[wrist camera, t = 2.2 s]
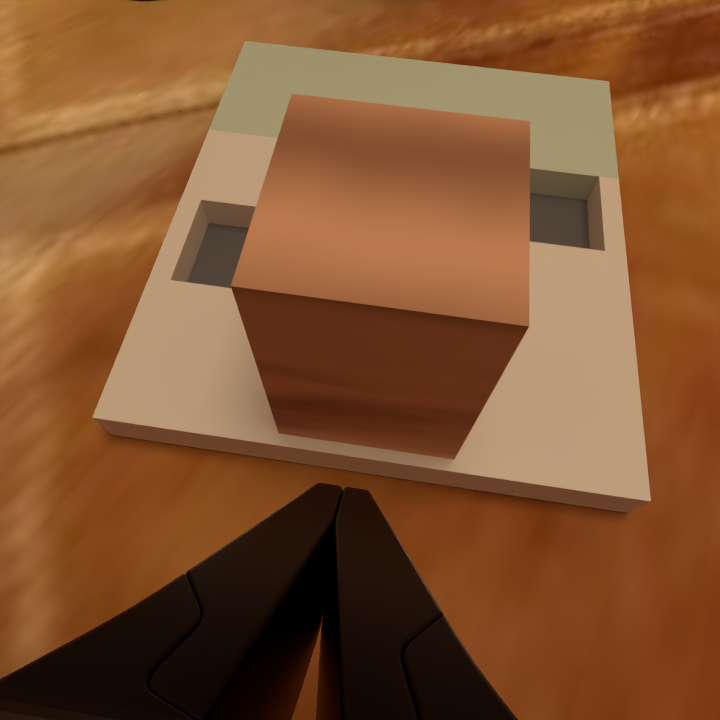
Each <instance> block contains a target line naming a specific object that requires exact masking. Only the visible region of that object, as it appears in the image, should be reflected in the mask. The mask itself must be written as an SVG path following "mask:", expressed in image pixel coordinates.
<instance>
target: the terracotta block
mask: <svg viewBox="0 0 720 720" xmlns="http://www.w3.org/2000/svg"><path fill="white" fill-rule="evenodd" d="M529 272H530V121H524V120H515V119H506V118H498V117H489V116H481V115H472V114H463V113H455V112H446V111H437V110H429V109H420V108H411V107H403V106H394V105H385V104H377V103H368V102H359V101H351V100H342V99H333V98H325V97H316V96H307V95H299V94H291V98H290V101H289V104H288V107H287V110H286V113H285V116H284V120H283V123H282V126H281V129H280V132H279V135H278V139H277V142H276V145H275V148H274V151H273V154H272V157H271V161H270V164H269V167H268V170H267V173H266V176H265V180H264V183H263V186H262V189H261V192H260V195H259V198H258V202H257V205H256V208H255V211H254V214H253V217H252V221H251V224H250V227H249V230H248V233H247V236H246V240H245V243H244V246H243V249H242V252H241V255H240V258H239V262H238V265H237V268H236V271H235V274H234V277H233V281H232V284H231V288H232V292H233V295H234V298H235V301H236V304H237V307H238V310H239V313H240V316H241V319H242V322H243V325H244V328H245V332H246V335H247V338H248V341H249V344H250V347H251V350H252V353H253V356H254V359H255V362H256V365H257V368H258V371H259V375H260V378H261V381H262V384H263V387H264V390H265V393H266V396H267V399H268V402H269V405H270V408H271V411H272V415H273V418H274V421H275V424H276V427H277V430H278V433H279V434H286V435H292V436H299V437H306V438H313V439H319V440H326V441H333V442H339V443H346V444H353V445H360V446H366V447H373V448H380V449H386V450H393V451H400V452H407V453H413V454H420V455H427V456H433V457H440V458H447V459H455V458H456V456H457V454H458V452H459V451H460V449H461V447H462V445H463V443H464V442H465V440H466V438H467V436H468V435H469V433H470V431H471V429H472V427H473V426H474V424H475V422H476V420H477V419H478V417H479V415H480V413H481V411H482V410H483V408H484V406H485V404H486V403H487V401H488V399H489V397H490V395H491V394H492V392H493V390H494V388H495V387H496V385H497V383H498V381H499V379H500V378H501V376H502V374H503V372H504V370H505V369H506V367H507V365H508V363H509V362H510V360H511V358H512V356H513V354H514V353H515V351H516V349H517V347H518V346H519V344H520V342H521V340H522V338H523V337H524V335H525V333H526V331H527V330H528V328H529Z"/></svg>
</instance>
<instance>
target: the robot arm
mask: <svg viewBox="0 0 720 720" xmlns="http://www.w3.org/2000/svg"><path fill="white" fill-rule="evenodd" d="M322 617H323V620H322ZM321 622H322V628H321V640H320V656H319V675H318V693H317V712H316V720H518V719H517V718H516V717H515V716H514V714H513V713H512V712H511V710H510V709H509V708H508V707H507V705H506V704H505V703H504V702H503V700H502V699H501V698H500V696H499V695H498V694H497V692H496V691H495V690H494V688H493V687H492V686H491V684H490V683H489V682H488V680H487V679H486V678H485V676H484V675H483V674H482V672H481V671H480V670H479V668H478V667H477V665H476V664H475V663H474V661H473V660H472V658H471V657H470V655H469V653H468V652H467V650H466V649H465V647H464V646H463V644H462V643H461V641H460V640H459V638H458V637H457V635H456V633H455V632H454V630H453V629H452V627H451V625H450V624H449V622H448V620H447V619H446V617H444V615H443V612H442V611H441V609H440V607H439V606H438V604H437V602H436V601H435V599H434V598H433V596H432V594H431V593H430V591H429V589H428V588H427V586H426V584H425V583H424V581H423V579H422V578H421V576H420V574H419V573H418V571H417V569H416V568H415V566H414V565H413V563H412V561H411V560H410V558H409V556H408V555H407V553H406V551H405V550H404V548H403V546H402V545H401V543H400V541H399V540H398V538H397V537H396V535H395V533H394V532H393V530H392V528H391V527H390V525H389V523H388V522H387V520H386V518H385V517H384V515H383V513H382V512H381V510H380V509H379V507H378V505H377V504H376V502H375V500H374V499H373V497H372V495H371V494H370V492H369V491H367V490H363V489H357V488H350V487H346V488H345V489H344V490H343V489H342V488H341V487H340V486H337V485H330V484H324V483H318V484H316V485H315V486H313V487H312V488H310V489H309V490H307V491H306V492H304V493H303V494H301V495H300V496H298V497H297V498H295V499H294V500H292V501H291V502H289V503H288V504H286V505H285V506H284V507H282V508H281V509H279V510H278V511H276V512H275V513H273V514H272V515H270V516H269V517H267V518H266V519H264V520H263V521H261V522H260V523H258V524H257V525H255V526H254V527H252V528H251V529H249V530H248V531H246V532H245V533H243V534H242V535H240V536H239V537H237V538H236V539H235V540H233V541H232V542H230V543H229V544H227V545H226V546H224V547H223V548H221V549H220V550H218V551H217V552H215V553H214V554H212V555H211V556H209V557H208V558H206V559H205V560H203V561H202V562H200V563H199V564H197V565H196V566H194V567H193V568H191V569H190V570H188V571H187V573H186V574H182V575H181V576H179V577H178V578H176V579H175V580H173V581H172V582H170V583H169V584H167V585H166V586H164V587H163V588H161V589H160V590H158V591H156V592H155V593H153V594H152V595H150V596H149V597H147V598H145V599H144V600H142V601H141V602H139V603H138V604H136V605H134V606H133V607H131V608H129V609H128V610H126V611H124V612H122V613H121V614H119V615H117V616H115V617H113V618H112V619H110V620H108V621H106V622H105V623H103V624H101V625H99V626H98V627H96V628H94V629H92V630H90V631H89V632H87V633H85V634H83V635H81V636H79V637H78V638H76V639H74V640H72V641H70V642H68V643H66V644H65V645H63V646H61V647H59V648H57V649H55V650H53V651H52V652H50V653H48V654H46V655H44V656H42V657H41V658H39V659H37V660H35V661H33V662H31V663H29V664H28V665H26V666H24V667H22V668H20V669H18V670H16V671H15V672H13V673H11V674H9V675H7V676H5V677H4V678H2V679H0V720H291V719H292V716H293V713H294V710H295V707H296V703H297V700H298V697H299V694H300V691H301V688H302V685H303V682H304V678H305V675H306V672H307V669H308V666H309V663H310V660H311V657H312V654H313V650H314V647H315V644H316V641H317V637H318V634H319V630H320V627H321Z"/></svg>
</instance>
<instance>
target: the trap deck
mask: <svg viewBox="0 0 720 720" xmlns="http://www.w3.org/2000/svg"><path fill="white" fill-rule="evenodd" d="M277 139H278V138H274V137H266V136H258V135H249V134H241V133H233V132H224V131H216V130H209V131H208V134H207V136H206V139H205V141H204V144H203V146H202V149H201V151H200V153H199V156H198V158H197V161H196V163H195V166H194V168H193V171H192V173H191V176H190V178H189V181H188V183H187V185H186V188H185V190H184V193H183V195H182V198H181V200H180V203H179V205H178V208H177V210H176V213H175V215H174V218H173V220H172V222H171V225H170V227H169V230H168V232H167V235H166V237H165V240H164V242H163V245H162V247H161V250H160V252H159V254H158V257H157V259H156V262H155V264H154V267H153V269H152V272H151V274H150V277H149V279H148V282H147V284H146V286H145V289H144V291H143V294H142V296H141V299H140V301H139V304H138V306H137V309H136V311H135V314H134V316H133V319H132V321H131V323H130V326H129V328H128V331H127V333H126V336H125V338H124V341H123V343H122V346H121V348H120V351H119V353H118V355H117V358H116V360H115V363H114V365H113V368H112V370H111V373H110V375H109V378H108V380H107V383H106V385H105V387H104V390H103V392H102V395H101V397H100V400H99V402H98V405H97V407H96V410H95V412H94V415H93V417H92V418H93V419H94V420H95V421H97V422H98V423H99V424H100V425H101V426H102V427H103V428H104V429H105V430H107V431H108V432H109V433H110V434H111V435H116V436H122V437H129V438H136V439H142V440H149V441H155V442H162V443H169V444H175V445H182V446H188V447H195V448H202V449H208V450H215V451H221V452H228V453H235V454H241V455H248V456H254V457H261V458H268V459H274V460H281V461H287V462H294V463H301V464H307V465H314V466H320V467H327V468H334V469H340V470H347V471H353V472H360V473H367V474H373V475H380V476H386V477H393V478H400V479H406V480H413V481H419V482H426V483H433V484H439V485H446V486H452V487H459V488H466V489H472V490H479V491H485V492H492V493H499V494H505V495H512V496H518V497H525V498H532V499H538V500H545V501H551V502H558V503H565V504H571V505H578V506H584V507H591V508H598V509H604V510H611V511H617V512H624V513H628V512H630V511H632V510H634V509H636V508H638V507H640V506H642V505H645V504H647V503H649V502H651V498H650V488H649V478H648V468H647V458H646V448H645V438H644V428H643V418H642V408H641V398H640V388H639V378H638V368H637V358H636V348H635V338H634V328H633V318H632V308H631V298H630V288H629V278H628V268H627V258H626V248H625V238H624V228H623V218H622V208H621V198H620V188H619V179H616V178H608V177H599V178H598V180H597V182H596V184H595V186H594V187H593V189H592V191H591V193H590V195H589V197H588V199H587V200H583V199H574V198H566V197H558V196H550V195H542V194H534V193H530V272H529V328H528V330H527V331H526V333H525V335H524V337H523V338H522V340H521V342H520V344H519V346H518V347H517V349H516V351H515V353H514V354H513V356H512V358H511V360H510V362H509V363H508V365H507V367H506V369H505V370H504V372H503V374H502V376H501V378H500V379H499V381H498V383H497V385H496V387H495V388H494V390H493V392H492V394H491V395H490V397H489V399H488V401H487V403H486V404H485V406H484V408H483V410H482V411H481V413H480V415H479V417H478V419H477V420H476V422H475V424H474V426H473V427H472V429H471V431H470V433H469V435H468V436H467V438H466V440H465V442H464V443H463V445H462V447H461V449H460V451H459V452H458V454H457V456H456V458H455V459H447V458H440V457H433V456H427V455H420V454H413V453H407V452H400V451H393V450H386V449H380V448H373V447H366V446H360V445H353V444H346V443H339V442H333V441H326V440H319V439H313V438H306V437H299V436H292V435H286V434H279V433H278V430H277V427H276V424H275V421H274V418H273V415H272V411H271V408H270V405H269V402H268V399H267V396H266V393H265V390H264V387H263V384H262V381H261V378H260V375H259V371H258V368H257V365H256V362H255V359H254V356H253V353H252V350H251V347H250V344H249V341H248V338H247V335H246V332H245V328H244V325H243V322H242V319H241V316H240V313H239V310H238V307H237V304H236V301H235V298H234V295H233V292H232V288H231V284H232V281H233V277H234V274H235V271H236V268H237V265H238V262H239V258H240V255H241V252H242V249H243V246H244V243H245V240H246V236H247V233H248V230H249V227H250V224H251V221H252V217H253V214H254V211H255V208H256V205H257V202H258V198H259V195H260V192H261V189H262V186H263V183H264V180H265V176H266V173H267V170H268V167H269V164H270V161H271V157H272V154H273V151H274V148H275V145H276V142H277Z"/></svg>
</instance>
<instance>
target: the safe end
mask: <svg viewBox="0 0 720 720" xmlns="http://www.w3.org/2000/svg"><path fill="white" fill-rule="evenodd" d="M291 94H299V95H307V96H316V97H325V98H333V99H342V100H351V101H359V102H368V103H377V104H385V105H394V106H403V107H411V108H420V109H429V110H437V111H446V112H455V113H463V114H472V115H481V116H489V117H498V118H506V119H515V120H524V121H530V193H534V194H542V195H550V196H558V197H566V198H574V199H583V200H587V199H588V197H589V195H590V193H591V191H592V189H593V187H594V186H595V184H596V182H597V180H598V178H599V177H608V178H616V179H619V178H618V168H617V158H616V148H615V138H614V128H613V118H612V108H611V98H610V88H609V81H601V80H592V79H583V78H574V77H565V76H555V75H546V74H537V73H528V72H519V71H510V70H501V69H492V68H483V67H474V66H465V65H456V64H447V63H438V62H429V61H420V60H411V59H402V58H393V57H384V56H375V55H366V54H357V53H348V52H339V51H330V50H321V49H312V48H303V47H294V46H285V45H276V44H267V43H258V42H249V41H245V43H244V45H243V47H242V50H241V52H240V55H239V57H238V60H237V62H236V65H235V67H234V70H233V72H232V75H231V77H230V80H229V82H228V84H227V87H226V89H225V92H224V94H223V97H222V99H221V102H220V104H219V107H218V109H217V112H216V114H215V116H214V119H213V121H212V124H211V126H210V129H209V130H216V131H224V132H233V133H241V134H249V135H258V136H266V137H274V138H278V135H279V132H280V129H281V126H282V123H283V120H284V116H285V113H286V110H287V107H288V104H289V101H290V98H291Z"/></svg>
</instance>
